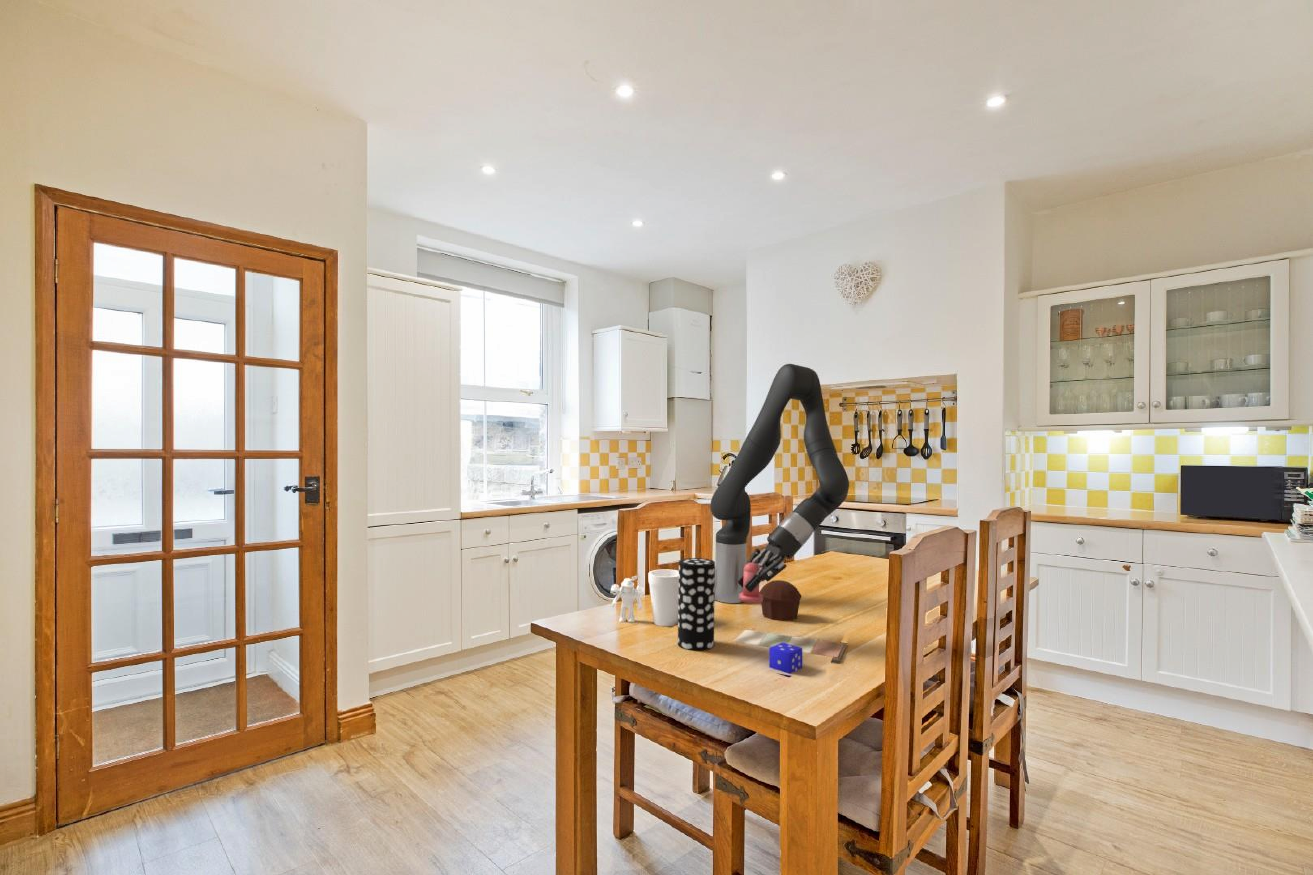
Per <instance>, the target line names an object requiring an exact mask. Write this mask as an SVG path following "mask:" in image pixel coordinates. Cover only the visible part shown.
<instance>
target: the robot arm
mask: <svg viewBox="0 0 1313 875" xmlns="http://www.w3.org/2000/svg"><path fill="white" fill-rule="evenodd" d="M790 400H796V401H799V402H800V404H801V406H802V407H803V410H804V413H805V417H806V418H805V424H804V430H803V443H804V446H805V451H806V453H807V456H808V460H809V462H810V464H811V466H812V467H813V469H815V472H816V475H817V480H818V483H819V486H818V488H817V489H816V490H815V492H813V493H812V494H811V495H810V497H807V498H804V499H803V500H802V501H801V502H800V503H799V504H797V506H796V507H795V509H793V510H792V512H791V513H789V514H788V515H787V516H786V517H785V518H784V519H783V520H782V521H781V522H780V523H779V524H778V525H777V526H776V527H775V528H774V530H773V531H772V532H771V533H770V534H769V535H768V536H767V538H766V540H767V542H768V545H766V546H765V547H763V549H762V550H760V549H759V547H758V548H755V549H754V551H753V552H752V553H751V555H750V557H749V558H748V560H747V552H748V551H747V547H748V546H747V540H748V539H747V538H748V536H749V533H750V529H751V527H750V526H751V513H752V511H751V510H752V509H751V508H752V507H751V506H752V505H751V504H752V503H751V498H750V497H749V494H748V492H747V491H746V490H745V488H746V487H747V486H748V484H749V483H751V482H752V481H753V480H754V479H755V478H756V477H757V476H758V475H759V474H760V473H762V472H763V471H764V470H765V469H766V468H767V467H768V466H769V464H770V463H771V461H772V460H773V458H774V456H775V454H776V453H777V450H778V449H779V446H780V444H781V440H782V428H781V420H782V415H783V413H784V410H785V409H786V406H787V405H788V403H789V402H790ZM849 488H850V480H849V477H848V474H847V472H846V468H844V465H843V463H842V461H841V460H840V458H839V455H838V452H837V448H836V446H835V443H834V441H833V438H832V435H831V431H830V429H829V425H828V419H827V416H826V410H825V404H824V397H823V392H822V387H821V382H820V378H819V375H818V373H817V372H816V371H815V370H814V369H812V368H810V367H807V366H802V365H798V364H793V363H786V364H784V365H782V366H781V367H780V368H779V369H778V371H777V373H776V374H775V376H774V378H773V380H772V382H771V385H770V388H769V390H768V393H767V395H766V398H765V400H764V402H763V405H762V407H761V409H760V411H759V413H758V415H757V416H756V419H755V421H754V423H753V425H752V427H751V429H750V431H749V432H748V433H747V436H746V437H745V439H744V442H743V443H742V445H741V448H740V450H739V452H738V454H737V455H736V458H735V459H734V461H733V463H732V465H731V466H730V468H729V470H728V472H727V473H726V475H725V476H724V478H723V479H722V481H721V483H720V484H718V486H717V488H716V489H715V491H714V493H713V495H712V498H711V500H710V512H711V514H712V516H713V517H714V518H715V519H717V520H719V521H720V520H721V521H725V522H724V524H723V526H722V527H721V528H720V529H719V530H717V531H716V534H715V597H714V601H718V602H719V603H724V604H738V603H743V602H742V601H740V600H739V594H740V593H743V577H744V567H745V565H746V564H748V563H755V564H757V565H758V567H759V569H758V570H757V572H756V573H755V575H753V576H752V577H751V578H750V580H749V581H748V582H747V583H746V584H745V585H744V587H745V588H746V589H747V590H748V591H749V592H752V591H753V590H754V589H755V588H756V587H757V585H758V584H759V585H760V583H761V582H762V583H763V582H765V581H766V582H767V583H769V582H771V581H772V579H773V578H775V577H776V576H777V575H778V574H780V573H781V572H782V571H783V570H785V569H786V568H787V564H786V563H785V562H784V560H785V559H787V560H791V559H793V557H794V556H795V555H796V554H797V553H798V552H799V551H800V549H801V548H802V547H804V545H805V544H806V543H807V541H808V540H809V539H810V538H811V536H812V535H813V533H814V532H815V531H817V530H818V528H819V527H820V526H821V524H822V523H823V522H824V521H825V520H826V518H827V517H828V516H830V515H831V514H832V513H833V512H835V511H836V510H837V509H838V508H839V507H840V506H841V505H842V504H843V503H844V502H845V501H846V499H847V497H848V493H849Z"/></svg>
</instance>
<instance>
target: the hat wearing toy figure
mask: <svg viewBox="0 0 1313 875" xmlns="http://www.w3.org/2000/svg"><path fill="white" fill-rule="evenodd" d="M639 576H640V575H639V574H637V575H634V576H631V578H629V577H626V578H624V580H622V582H621V583H620V584H621V586H619V584H617V583H615V584H614V583H613V584H612V585H611V588H610V594H612V595H614V596H615V595H616V596H615V598H614V599H613V601H612V603H611V607H612V608H614V607H615V605H617V604H618V600H620V598H621V604H620V616H619V620H618V622H620V623H625V622H626V621H627V622H628V623H634V622H635V615H634V614H635V612H634V602H635V601H636V603H635V607H638V608H637V609H638V611H639V610H642V607H643V605H642V600H641V598H640V596H641V595H642V596H644V595H645V588H644V587H643V586H641V585H639V584H638V585H636V587H635V583H634V581H635V580H638V578H639ZM626 611H627V612H628V613H627V612H626ZM626 614H628V620H627V615H626Z"/></svg>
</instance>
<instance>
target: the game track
mask: <svg viewBox="0 0 1313 875" xmlns="http://www.w3.org/2000/svg"><path fill="white" fill-rule="evenodd" d="M732 641H733V643H739V644H746V645H752V646H760V647H767V648H770V647H773V646H775V645H778V644H780V643H786V644H790V645H793V646H797V647H800V648H802V653H805V654H812V655H820V656H826V657H832V658H831V661H830V663H833V664H840V663H841V660H842V658H843V657H844V653H845V651H846V649H847V647H848V642H842V641H841V642H833V641H825V640H819V639H814V638H813V639H812V638H805V637H800V636H799V637H798V636H792V635H785V634H779V633H770V632H763V631H756V630H749V629H745V630H743V632H741V633H740V634H739V635H738V636H737V637H736V638H735V639H734V640H732Z"/></svg>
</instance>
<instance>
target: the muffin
mask: <svg viewBox="0 0 1313 875" xmlns="http://www.w3.org/2000/svg"><path fill="white" fill-rule="evenodd" d="M759 593H760V594H762V595H763V601H762V602H760V606H761V612H762V615H763V617H764V618H765V619H769V620H772V621H780V622H783V621H784V622H785V621H793V620H797V619H798V614H799V608H800V603H801V599H802V594H801V593H800V591H799V589H798V588H797V587H796V586H795V585H794V584H793V583H791V582H789V581H786V580H780V579H777V580H770V581H768V582H767V583H765V584H764V585H763V586H762V588H760V589H759Z"/></svg>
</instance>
